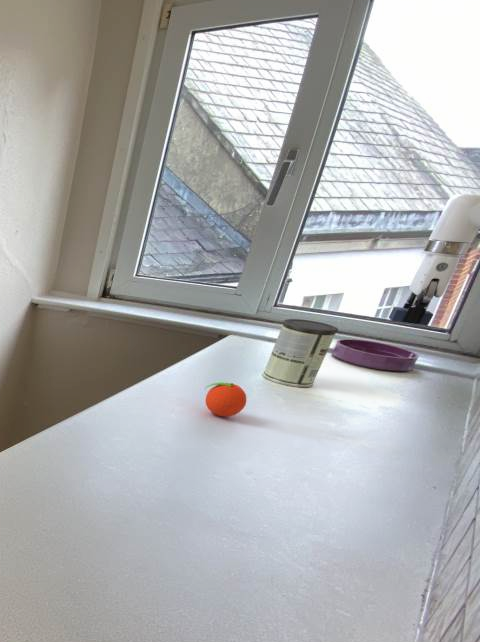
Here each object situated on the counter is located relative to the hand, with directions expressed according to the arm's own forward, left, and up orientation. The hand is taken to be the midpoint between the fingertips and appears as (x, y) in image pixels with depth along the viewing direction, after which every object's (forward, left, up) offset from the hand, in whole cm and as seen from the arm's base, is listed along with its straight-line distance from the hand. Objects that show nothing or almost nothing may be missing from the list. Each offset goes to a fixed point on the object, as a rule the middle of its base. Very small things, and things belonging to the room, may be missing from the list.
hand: (408, 320), depth 143 cm
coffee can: (+23, +33, -13) cm, 42 cm away
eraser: (0, 0, 0) cm, 0 cm away
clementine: (+36, +71, -13) cm, 80 cm away
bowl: (+3, -3, -13) cm, 14 cm away
